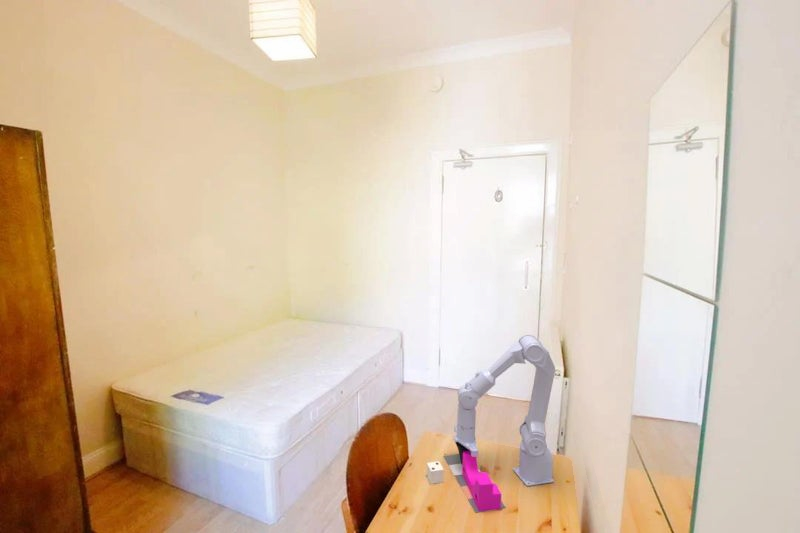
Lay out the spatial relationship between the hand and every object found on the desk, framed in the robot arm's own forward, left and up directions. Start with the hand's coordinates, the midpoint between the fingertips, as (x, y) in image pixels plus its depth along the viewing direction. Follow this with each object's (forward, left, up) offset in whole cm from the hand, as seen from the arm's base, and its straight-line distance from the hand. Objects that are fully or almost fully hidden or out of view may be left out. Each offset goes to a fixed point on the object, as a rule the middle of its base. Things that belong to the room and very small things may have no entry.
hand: (464, 464), depth 111 cm
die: (+11, +3, -1) cm, 11 cm away
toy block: (0, +10, -2) cm, 10 cm away
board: (0, +5, -1) cm, 5 cm away
